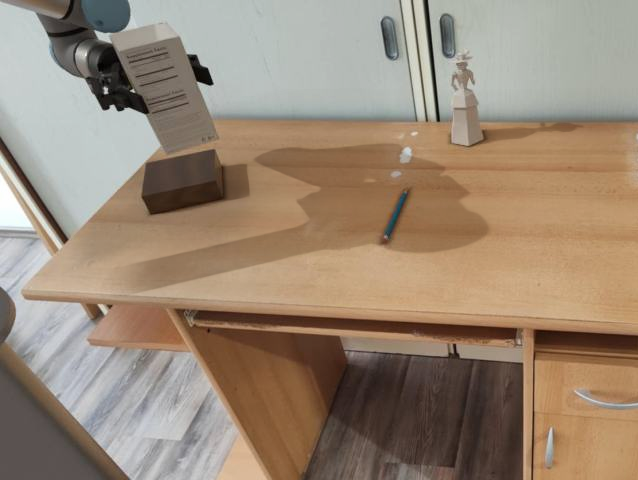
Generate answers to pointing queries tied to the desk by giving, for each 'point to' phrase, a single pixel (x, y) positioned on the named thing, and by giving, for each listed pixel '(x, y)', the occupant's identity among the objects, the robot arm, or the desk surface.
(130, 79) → the supplement box
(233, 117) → the desk surface
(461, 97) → the figurine
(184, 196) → the block
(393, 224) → the pencil
